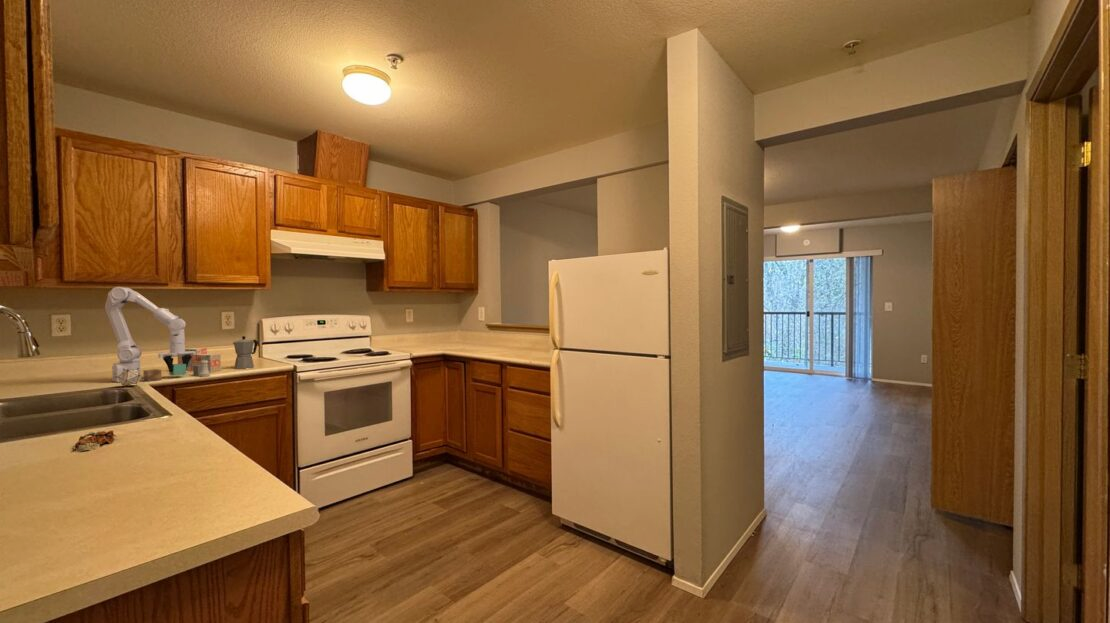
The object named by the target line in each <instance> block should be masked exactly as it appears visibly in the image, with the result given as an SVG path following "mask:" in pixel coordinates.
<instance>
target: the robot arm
mask: <svg viewBox="0 0 1110 623" xmlns="http://www.w3.org/2000/svg"><path fill="white" fill-rule="evenodd" d="M128 302H133V303H137V304H139V306H141V307H142V308H144V309H146V310H147V311H150V312H151V313H152V314H153V315H152V316H153V318H155V319H156V320H158V321H159V322H160V323H162V324H164V325H165V326H167V328H168V330H169V352H162V353H158V358H160V359H163V361H164V363H165V364H166V366H167V369H168V372H173V364H174V357H178V356H182V362H183V364H186V369H187V366H188V363H189V361H190V359H191V358H192V356H191V355H196V351H186V352H185V349H186V346H185V345H186V340H185V337H186V336H185V335H186V334H185V327H186V326H187V323H186V321H185V320H184V319H183V318H179V316H178V315H175V314H173V313H172V312H170V309H169V308H165V307H158V306H157V305H156V304H155V303H153V302H152V301H151V300H149V299H148V298H146V297H145V296H143V295H142V294H140V292H138V291H136V290H133V289H132V288H131V287H128V286H127V287H122V286H116V287H113V288H112V289H111V290H109V292H108V293H107V298H106V301H105V305H104V309H105V312H106V315H107V316H108V320H109V323H110V325H111V328H112V330H113V333H114V336H115V340H117V346H116V347H117V358H118V360H119V362H114V363H112V368H111V370H112V371H111V372H112V379H111V381H112V382H114V381H115V383H121V382H120V381H119V379H118V376H119V375H120V374H121V373H122V372H123V371H124V370H123V369H125V370H127V369H128V370H131V369H137V368H139V369H138V371H139V373H140V374H141V359H140V357H141V356H142V350H141V348H139V347H138V346H137V343H136V342H135V341H134V340H133V337H132V335H131V332H130V330H129V327H128V325H127V322H126V319H125V316H124V313H123V311H122V307H124V306H125V304H126V303H128ZM178 354H183V355H178ZM184 354H185V355H184ZM116 376H117V377H116ZM142 380H143V381H144V379H141V380H140V381H142Z"/></svg>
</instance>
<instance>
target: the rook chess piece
mask: <svg viewBox="0 0 1110 623" xmlns="http://www.w3.org/2000/svg"><path fill="white" fill-rule="evenodd" d="M200 363H201V364H202V365H201V366H202V368H201V372H200V373H199V374H200V376H199V378H207V377H211V372H209V371H208V365H207V364H208V360H206V361H205V360H204V361H203V360H202V361H201V362H200ZM209 374H210V375H209Z"/></svg>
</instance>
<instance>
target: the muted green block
mask: <svg viewBox="0 0 1110 623" xmlns="http://www.w3.org/2000/svg"><path fill="white" fill-rule="evenodd" d="M168 372H169V371H168ZM168 374H169V376H182V375H187V372H186V364H182V363H181V364H178V363H173V372H169V373H168Z"/></svg>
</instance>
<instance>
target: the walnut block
mask: <svg viewBox="0 0 1110 623" xmlns="http://www.w3.org/2000/svg"><path fill="white" fill-rule="evenodd" d="M142 374H143V377H144V379H143V382H148V383H150V382H157V381H162V369H158V368H156V369H155V368H154V369H145V370H143V373H142Z"/></svg>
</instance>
